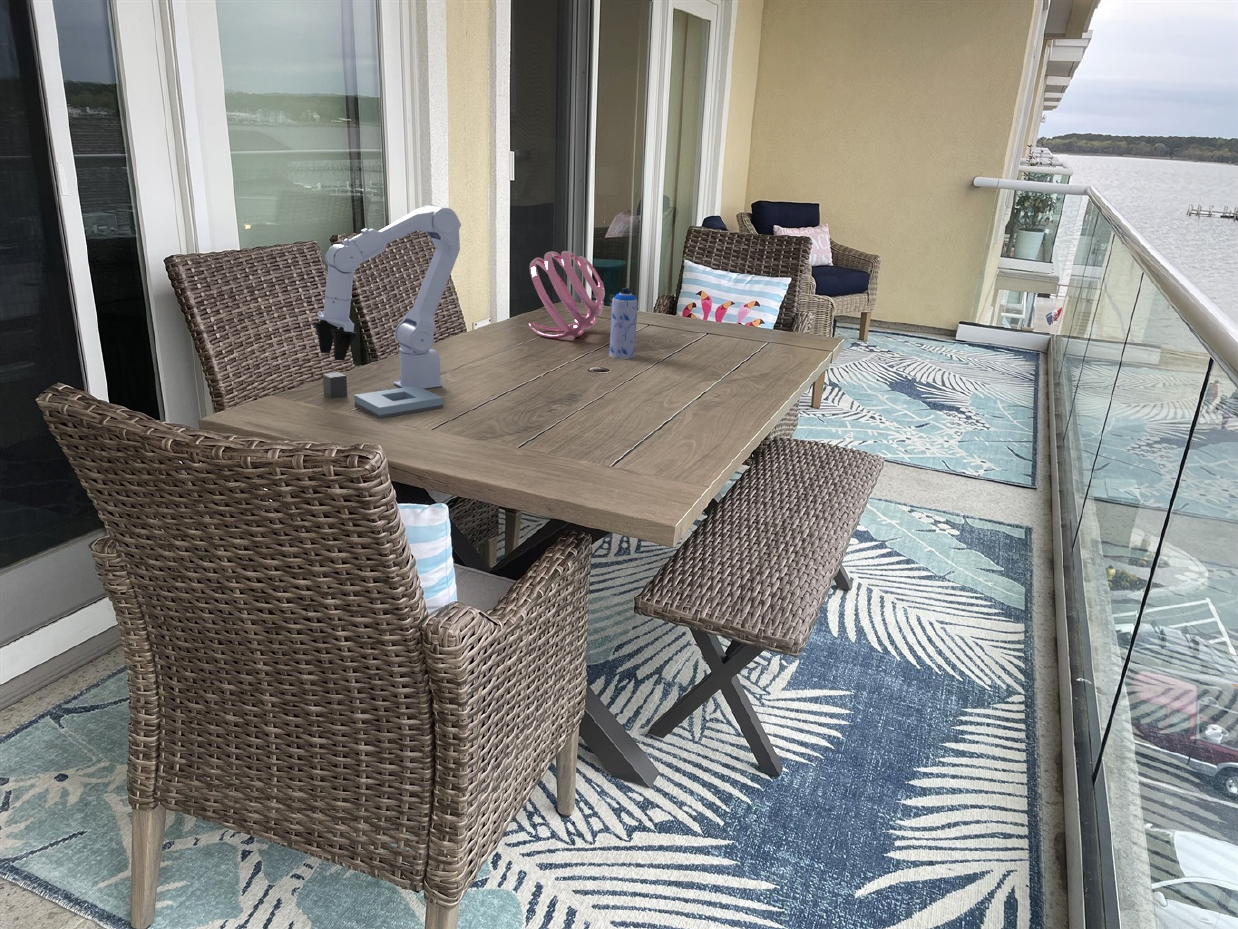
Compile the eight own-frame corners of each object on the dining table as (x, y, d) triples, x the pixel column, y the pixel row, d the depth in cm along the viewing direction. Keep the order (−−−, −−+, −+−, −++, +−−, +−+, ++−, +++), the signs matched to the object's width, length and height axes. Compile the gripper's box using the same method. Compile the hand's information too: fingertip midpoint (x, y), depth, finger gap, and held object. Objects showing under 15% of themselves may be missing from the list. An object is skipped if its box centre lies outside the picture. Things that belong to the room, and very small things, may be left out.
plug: (339, 392, 215) (338, 371, 214) (347, 396, 212) (346, 375, 211) (323, 394, 213) (322, 374, 211) (331, 398, 210) (330, 377, 208)
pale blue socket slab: (417, 395, 216) (416, 385, 215) (443, 407, 207) (443, 397, 207) (354, 405, 206) (354, 394, 205) (379, 418, 197) (379, 407, 196)
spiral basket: (488, 273, 277) (562, 227, 270) (522, 283, 304) (590, 242, 296) (528, 353, 275) (604, 309, 268) (559, 356, 302) (628, 317, 295)
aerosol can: (639, 358, 266) (643, 290, 259) (614, 359, 263) (618, 290, 256) (629, 352, 272) (632, 286, 266) (604, 353, 270) (608, 286, 263)
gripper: (307, 291, 208) (302, 348, 211) (335, 302, 198) (329, 362, 201) (336, 293, 213) (331, 350, 216) (365, 304, 203) (358, 363, 206)
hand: (332, 356), depth 209 cm, fingers open, 7 cm apart
